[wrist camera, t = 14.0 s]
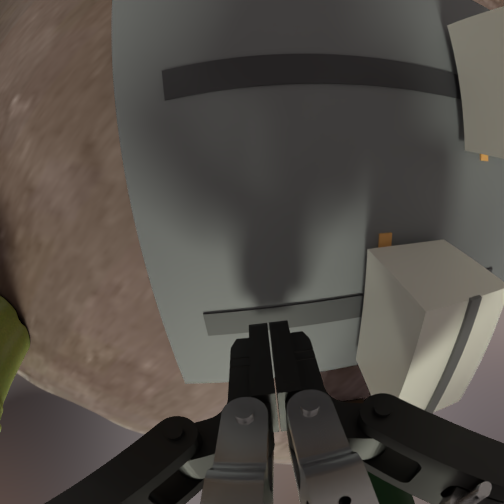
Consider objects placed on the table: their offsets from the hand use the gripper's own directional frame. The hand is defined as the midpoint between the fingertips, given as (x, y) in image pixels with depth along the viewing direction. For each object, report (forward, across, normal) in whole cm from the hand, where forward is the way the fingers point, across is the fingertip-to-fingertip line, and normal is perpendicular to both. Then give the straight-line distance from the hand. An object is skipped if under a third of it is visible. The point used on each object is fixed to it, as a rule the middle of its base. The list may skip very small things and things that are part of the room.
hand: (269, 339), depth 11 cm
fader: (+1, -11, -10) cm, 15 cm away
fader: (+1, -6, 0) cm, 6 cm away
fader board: (+4, -5, -6) cm, 9 cm away
